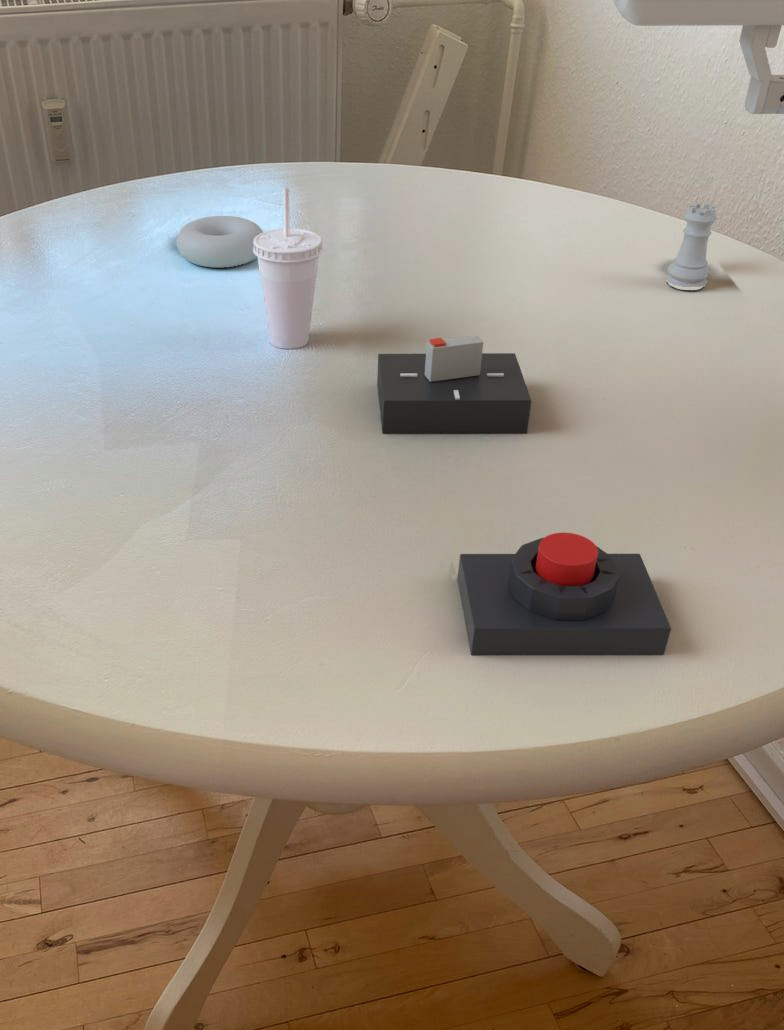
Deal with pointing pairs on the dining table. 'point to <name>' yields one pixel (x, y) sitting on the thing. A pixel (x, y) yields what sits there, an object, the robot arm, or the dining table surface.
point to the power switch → (560, 607)
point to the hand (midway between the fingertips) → (772, 112)
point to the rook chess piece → (693, 249)
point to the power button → (566, 559)
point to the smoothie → (288, 279)
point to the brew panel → (452, 397)
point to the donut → (218, 241)
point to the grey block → (453, 358)
